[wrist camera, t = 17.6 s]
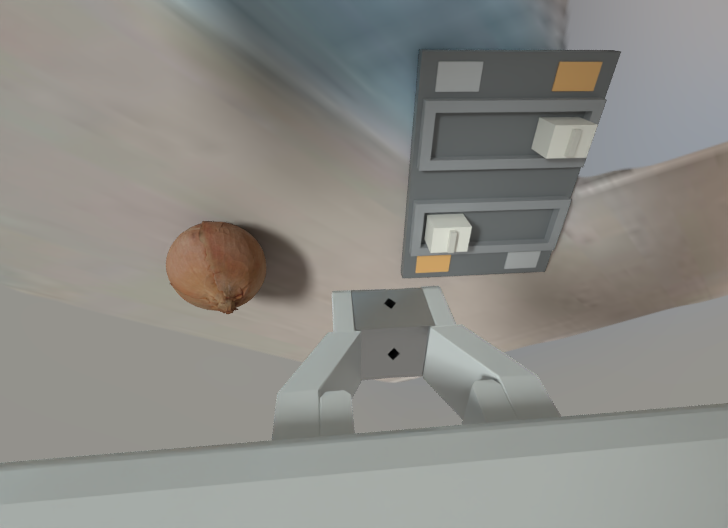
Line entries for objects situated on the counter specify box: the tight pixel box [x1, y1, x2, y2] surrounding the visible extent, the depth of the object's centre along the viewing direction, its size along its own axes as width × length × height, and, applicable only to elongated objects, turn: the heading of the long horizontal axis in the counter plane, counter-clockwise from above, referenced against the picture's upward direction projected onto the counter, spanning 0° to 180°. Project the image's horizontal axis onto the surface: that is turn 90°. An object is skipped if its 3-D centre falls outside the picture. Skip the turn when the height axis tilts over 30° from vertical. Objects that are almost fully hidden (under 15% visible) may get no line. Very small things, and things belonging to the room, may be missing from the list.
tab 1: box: [424, 214, 472, 253], centre depth 40 cm, size 3×4×4 cm
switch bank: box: [401, 49, 621, 278], centre depth 40 cm, size 24×18×2 cm
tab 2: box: [531, 117, 598, 159], centre depth 35 cm, size 3×4×4 cm
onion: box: [166, 221, 266, 314], centre depth 38 cm, size 10×9×10 cm
